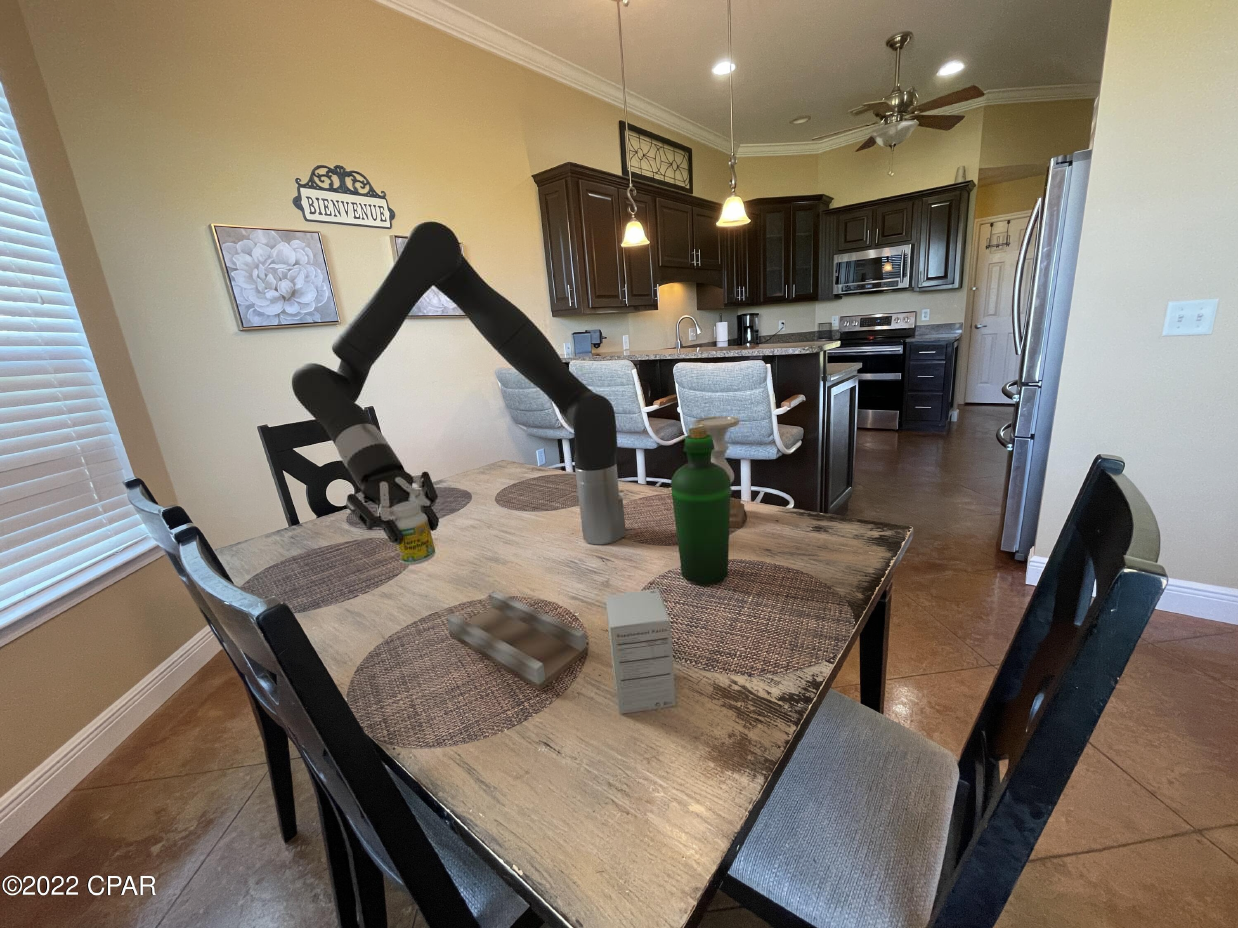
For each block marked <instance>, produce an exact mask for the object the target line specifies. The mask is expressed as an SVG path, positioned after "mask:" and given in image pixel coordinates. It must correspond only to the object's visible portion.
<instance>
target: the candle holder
mask: <svg viewBox="0 0 1238 928" xmlns="http://www.w3.org/2000/svg"><path fill="white" fill-rule="evenodd" d="M739 419H740V418H737V417H733V416H709V417H703V418H698V419H695V421H693V425H694V428H695V427H706V428H707V434H710V435H712V439H713V443H714V447H715V450H713V451H711V462H712V463H715V464H717V465H718V466H720V467H722V468H723V469H725V471H726V472H727V473H728V475H729V476H730V481H731V484H733V481H734V480H735V473H734V471H733V469H732V467H731V466H730V464H729V463H728V461H727V460H726V453H727V452H728V450H730V449H729V447H730V446H729V445H728V444H727V442H726V440H725V439H726V438H725V437H726V435H727V433H728V432H729V430H730V428H734V427H737V426H738V425H739V424H740V420H739ZM732 493H733V489H732V488H731V487H730V519H729V529H740V528H741V527H743V521H744V517H745V503H742V502H741V501H742V500H741V499H740V498H733V497H731V495H732Z"/></svg>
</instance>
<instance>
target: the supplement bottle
mask: <svg viewBox="0 0 1238 928" xmlns="http://www.w3.org/2000/svg"><path fill="white" fill-rule="evenodd" d="M420 509H421V508H420V504H419V502H418V501H407V502H403V503H400V504H397V505H395V506H393V507H392V511H393V512H392V513H393V516H394V517H395V519H393V521H394V523H395V524H396V526H397V527H398V529H399V531H400V532H401V534H402V535H403V538H404V539H403V542H402V544H399V545H397V549H398V553H399V557H400V560H401V562H402V563H403V564H404V565H406V566H415V565H420V564H423V563H426V562H429V560H431V559H433V558H434V557H435V555H436V548H435V544H434V540H433V536H432V531H431V530H430V526H429V522H428V518H427V516H426V514H424V513H422V512H420Z"/></svg>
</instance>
